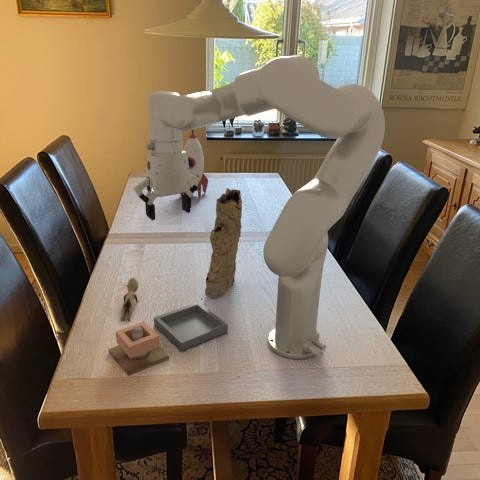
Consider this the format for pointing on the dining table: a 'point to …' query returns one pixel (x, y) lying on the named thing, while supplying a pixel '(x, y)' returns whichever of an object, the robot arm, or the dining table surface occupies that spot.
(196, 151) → the toy
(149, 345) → the ring
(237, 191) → the tan log
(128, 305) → the figurine
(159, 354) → the brown piece
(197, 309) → the tray
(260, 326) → the dining table surface
